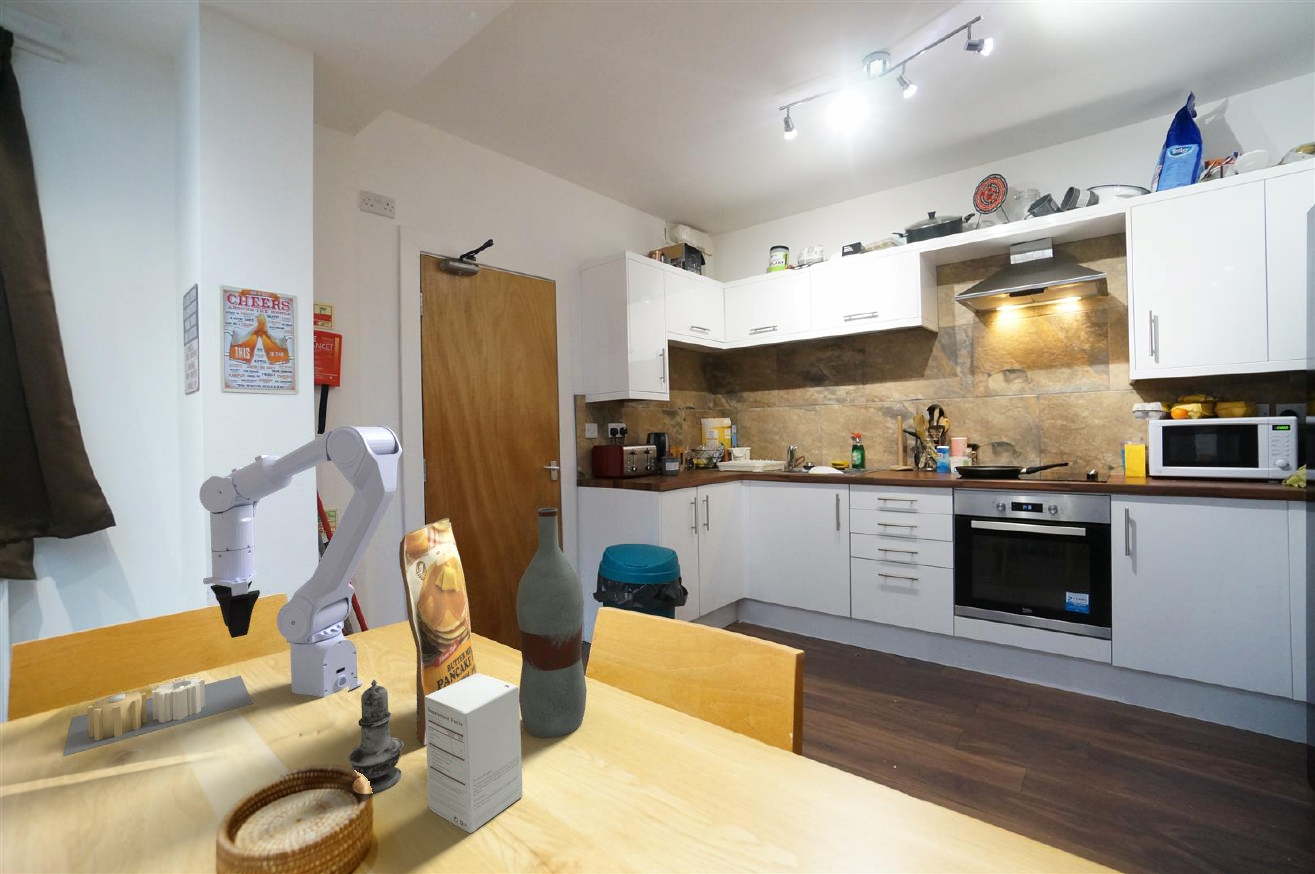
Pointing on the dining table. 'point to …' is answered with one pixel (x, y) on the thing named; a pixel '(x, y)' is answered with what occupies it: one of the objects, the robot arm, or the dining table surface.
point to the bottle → (551, 638)
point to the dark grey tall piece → (377, 742)
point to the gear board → (144, 715)
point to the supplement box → (473, 750)
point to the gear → (178, 699)
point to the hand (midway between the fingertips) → (236, 630)
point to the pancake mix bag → (436, 611)
